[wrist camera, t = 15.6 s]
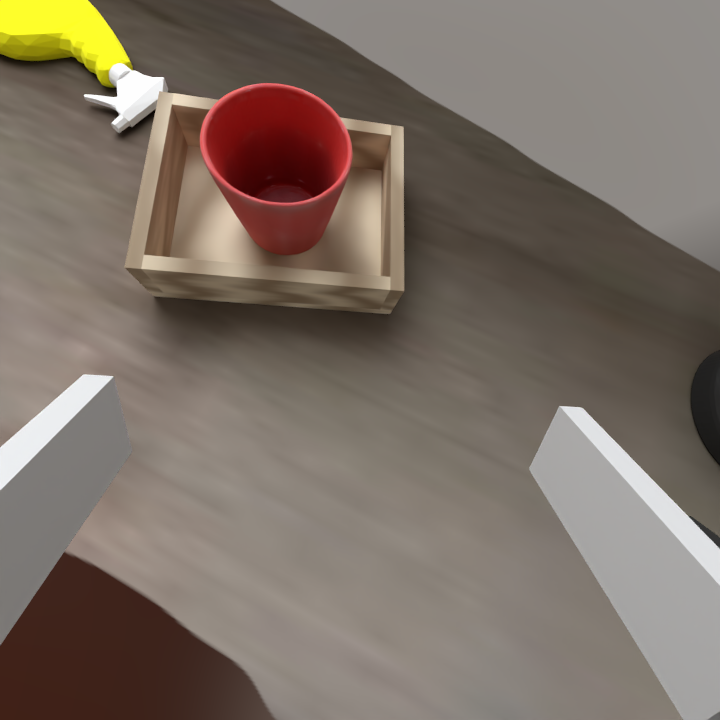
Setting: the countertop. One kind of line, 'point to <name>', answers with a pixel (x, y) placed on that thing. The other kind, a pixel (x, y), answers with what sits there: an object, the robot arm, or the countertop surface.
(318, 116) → the flower pot
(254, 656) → the countertop surface
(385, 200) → the pine crate
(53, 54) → the spray bottle
